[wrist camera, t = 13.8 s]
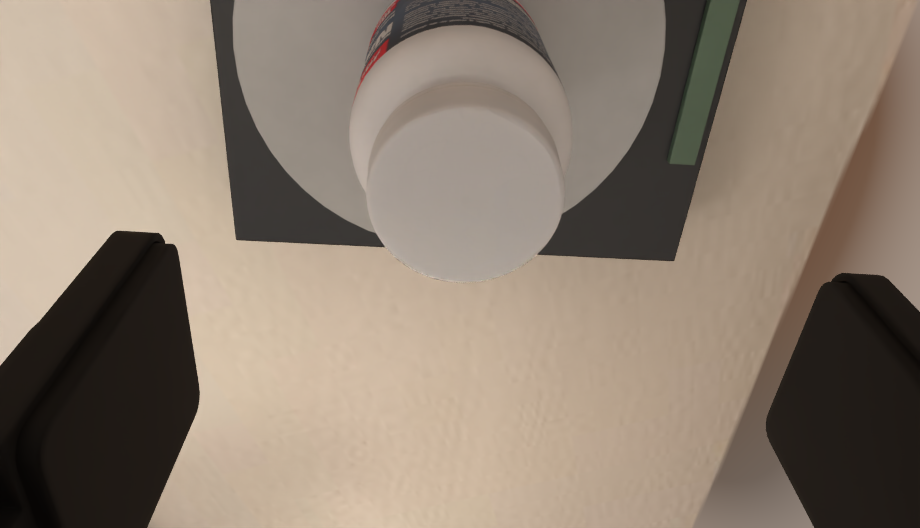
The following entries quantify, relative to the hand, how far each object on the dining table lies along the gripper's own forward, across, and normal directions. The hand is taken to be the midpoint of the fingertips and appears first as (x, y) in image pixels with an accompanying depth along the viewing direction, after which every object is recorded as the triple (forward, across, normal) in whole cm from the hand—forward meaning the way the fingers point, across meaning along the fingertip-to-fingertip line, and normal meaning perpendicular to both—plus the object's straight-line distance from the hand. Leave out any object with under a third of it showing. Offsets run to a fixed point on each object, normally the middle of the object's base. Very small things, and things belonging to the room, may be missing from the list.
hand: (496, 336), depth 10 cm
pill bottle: (+13, +1, 0) cm, 13 cm away
